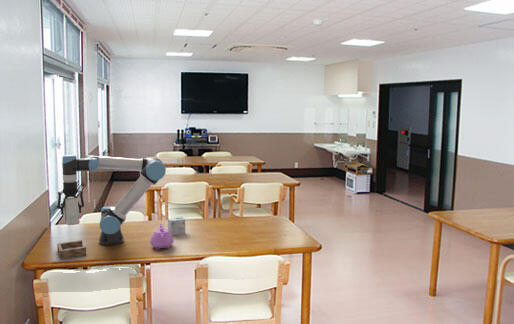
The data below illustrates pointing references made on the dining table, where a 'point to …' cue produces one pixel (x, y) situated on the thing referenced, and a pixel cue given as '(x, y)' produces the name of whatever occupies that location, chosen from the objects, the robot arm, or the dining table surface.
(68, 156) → the robot arm
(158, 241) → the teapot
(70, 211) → the skincare box
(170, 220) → the light bulb box
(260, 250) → the dining table surface
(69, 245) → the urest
